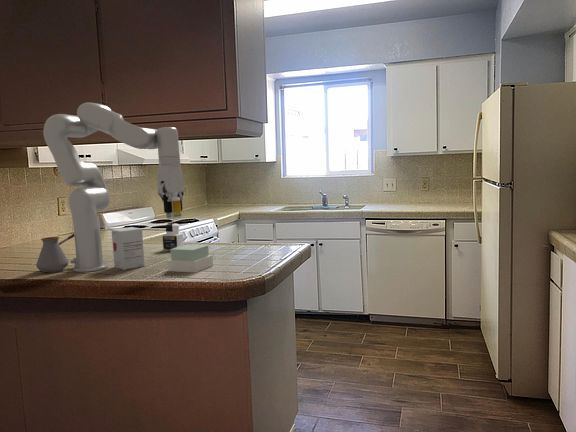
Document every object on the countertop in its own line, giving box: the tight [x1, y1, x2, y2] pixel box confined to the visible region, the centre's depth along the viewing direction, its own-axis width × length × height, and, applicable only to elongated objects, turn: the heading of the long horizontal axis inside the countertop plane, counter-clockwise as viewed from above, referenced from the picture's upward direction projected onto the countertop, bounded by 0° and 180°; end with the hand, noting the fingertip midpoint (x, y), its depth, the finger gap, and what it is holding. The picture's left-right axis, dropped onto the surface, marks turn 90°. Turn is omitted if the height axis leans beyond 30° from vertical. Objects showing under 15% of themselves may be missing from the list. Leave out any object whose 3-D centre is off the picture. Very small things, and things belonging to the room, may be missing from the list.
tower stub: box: [166, 244, 214, 273], centre depth 187 cm, size 12×12×8 cm
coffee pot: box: [35, 233, 74, 273], centre depth 197 cm, size 21×12×15 cm, turn 143°
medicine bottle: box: [162, 223, 185, 252], centre depth 232 cm, size 7×7×12 cm
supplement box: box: [111, 226, 146, 271], centre depth 195 cm, size 9×9×15 cm
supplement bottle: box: [165, 192, 182, 220], centre depth 182 cm, size 5×5×10 cm
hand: (173, 211), depth 183 cm, fingers closed on supplement bottle, 5 cm apart
